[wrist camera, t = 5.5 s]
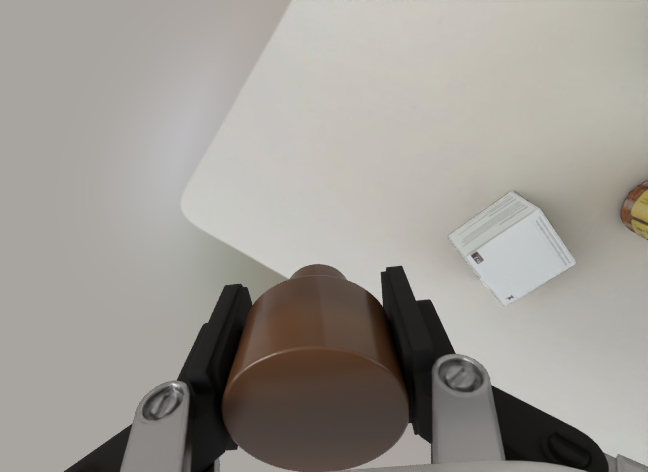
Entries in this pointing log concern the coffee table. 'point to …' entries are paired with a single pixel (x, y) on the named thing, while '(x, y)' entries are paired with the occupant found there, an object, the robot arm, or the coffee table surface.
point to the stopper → (316, 376)
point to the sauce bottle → (637, 210)
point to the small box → (512, 248)
